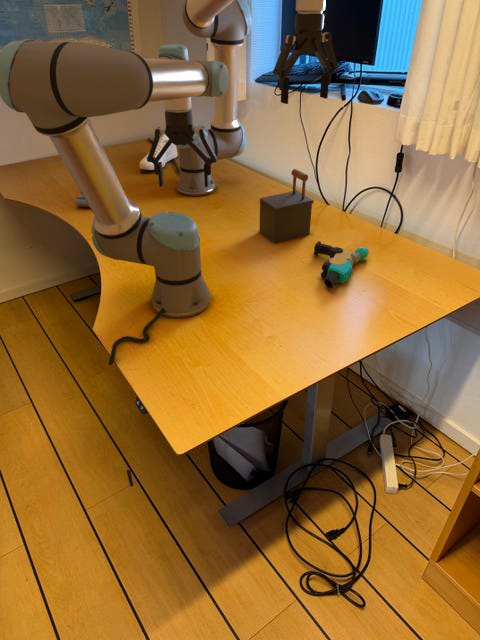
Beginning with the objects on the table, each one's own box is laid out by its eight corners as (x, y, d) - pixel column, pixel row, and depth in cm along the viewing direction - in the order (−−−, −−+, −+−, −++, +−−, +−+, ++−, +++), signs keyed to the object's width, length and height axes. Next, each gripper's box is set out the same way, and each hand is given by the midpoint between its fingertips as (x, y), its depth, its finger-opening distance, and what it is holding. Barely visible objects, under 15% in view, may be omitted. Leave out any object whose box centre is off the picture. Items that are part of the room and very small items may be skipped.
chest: (293, 223, 165) (295, 193, 158) (309, 234, 158) (312, 203, 151) (259, 231, 159) (259, 201, 153) (274, 243, 152) (275, 212, 146)
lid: (296, 193, 158) (298, 166, 153) (313, 203, 152) (315, 174, 146) (259, 201, 153) (260, 173, 148) (275, 212, 146) (276, 183, 141)
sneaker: (133, 173, 208) (129, 144, 201) (161, 153, 230) (158, 127, 223) (155, 175, 205) (151, 146, 198) (180, 155, 227) (178, 129, 220)
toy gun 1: (132, 197, 185) (117, 212, 173) (88, 194, 188) (70, 209, 177) (131, 187, 183) (115, 202, 171) (86, 184, 186) (67, 199, 174)
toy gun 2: (291, 269, 129) (345, 283, 123) (323, 233, 148) (371, 243, 142) (290, 283, 132) (343, 297, 126) (322, 246, 150) (369, 256, 145)
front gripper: (224, 106, 132) (226, 181, 145) (136, 106, 134) (145, 180, 146) (222, 112, 126) (224, 190, 139) (129, 112, 128) (140, 189, 140)
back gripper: (339, 9, 131) (331, 93, 144) (261, 13, 122) (260, 102, 134) (356, 11, 126) (347, 97, 138) (276, 15, 117) (274, 107, 129)
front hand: (184, 185), depth 142 cm, fingers open, 13 cm apart
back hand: (304, 100), depth 136 cm, fingers open, 13 cm apart
